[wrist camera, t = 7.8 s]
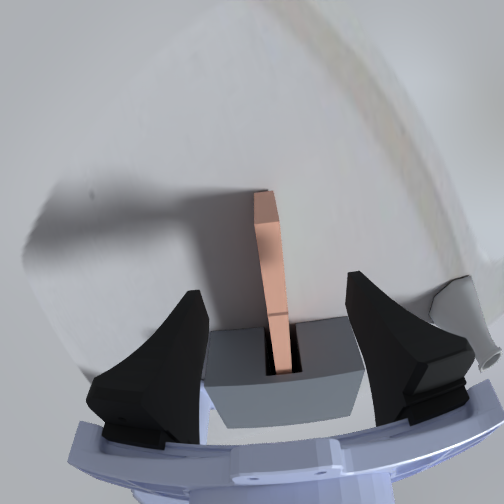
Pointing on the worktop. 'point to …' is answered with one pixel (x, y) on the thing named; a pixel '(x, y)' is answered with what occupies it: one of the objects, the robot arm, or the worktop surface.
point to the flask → (465, 319)
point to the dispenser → (284, 376)
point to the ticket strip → (273, 277)
